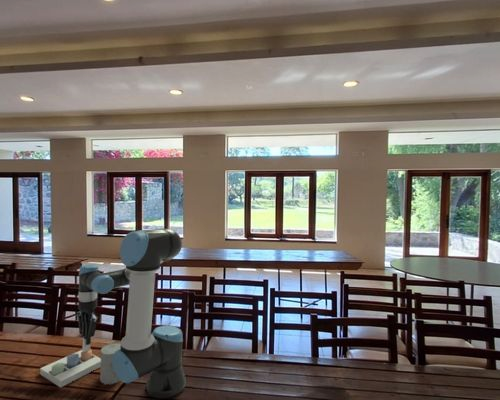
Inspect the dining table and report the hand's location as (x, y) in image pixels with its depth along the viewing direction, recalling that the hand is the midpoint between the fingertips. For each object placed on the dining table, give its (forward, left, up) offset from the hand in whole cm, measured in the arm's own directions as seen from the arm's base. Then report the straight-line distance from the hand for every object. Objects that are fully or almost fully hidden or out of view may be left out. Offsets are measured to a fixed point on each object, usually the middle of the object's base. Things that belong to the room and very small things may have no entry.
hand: (86, 350), depth 131 cm
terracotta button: (0, 0, -5) cm, 5 cm away
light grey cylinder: (-19, 0, -6) cm, 20 cm away
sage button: (0, +12, -5) cm, 13 cm away
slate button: (0, +6, -4) cm, 7 cm away
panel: (0, +6, -6) cm, 8 cm away
